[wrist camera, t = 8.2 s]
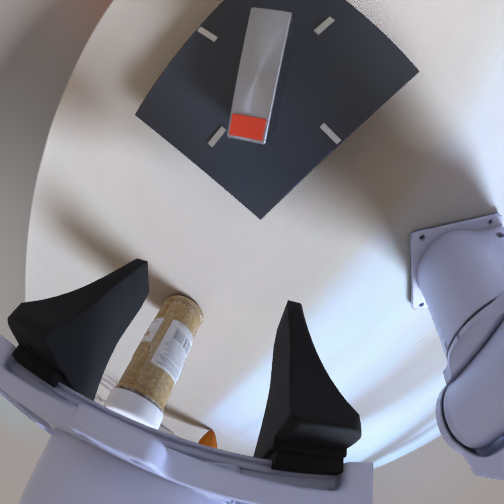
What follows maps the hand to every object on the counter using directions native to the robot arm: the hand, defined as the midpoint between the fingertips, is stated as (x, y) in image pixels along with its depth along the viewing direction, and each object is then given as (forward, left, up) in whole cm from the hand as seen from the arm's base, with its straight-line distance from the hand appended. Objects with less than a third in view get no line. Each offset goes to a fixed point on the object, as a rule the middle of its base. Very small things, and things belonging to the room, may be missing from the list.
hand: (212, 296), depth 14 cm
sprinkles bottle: (+10, +8, -10) cm, 16 cm away
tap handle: (-5, -9, -6) cm, 12 cm away
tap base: (-5, -9, -9) cm, 14 cm away
